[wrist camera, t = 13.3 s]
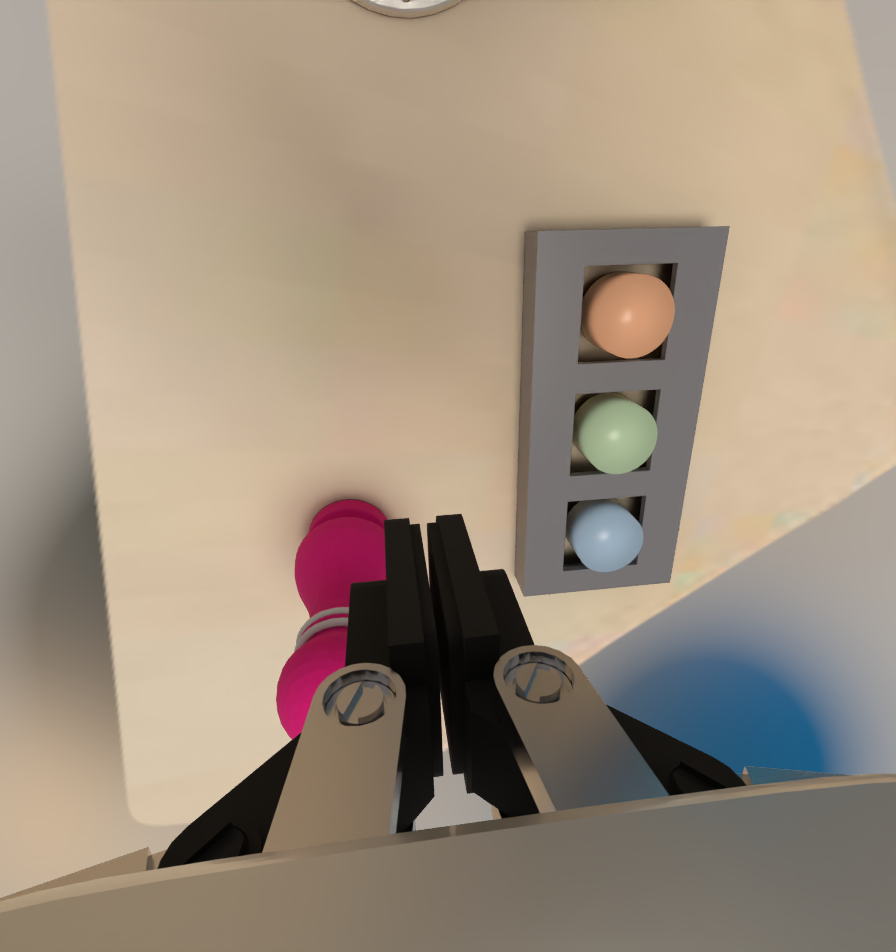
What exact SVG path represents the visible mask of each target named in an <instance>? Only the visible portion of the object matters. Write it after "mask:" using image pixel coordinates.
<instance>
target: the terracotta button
mask: <svg viewBox="0 0 896 952" xmlns="http://www.w3.org/2000/svg"><path fill="white" fill-rule="evenodd" d="M674 315H675V305H674V299H673V296H672V294H671V292H670V290H669V288H668V287H667V286H666V284H665V283H664V282H662V281H661V280H660V279H658V278H656V277H654V276H651V275H646V274H638V273H630V272H614V273H610V274H607V275H605V276H603V277H601V278H600V279H598V280H597V281H596V282H595V283H594V284H593V285H592V286H591V287H590V288H589V289H588V291H587V292H586V294H585V296H584V298H583V301H582V311H581V324H580V325H581V329H582V331H583V333H584V335H585V337H586V338H587V339H588V340H589V341H590V342H591V343H592V344H593V345H595V346H597V347H599V348H601V349H603V350H605V351H607V352H609V353H611V354H613V355H616V356H618V357H621V358H638V357H641V356H644V355H646V354H648V353H650V352H652V351H653V350H655V349H656V348H657V347H658V346H659V345H660V344H661V343H662V342H663V341H664V339H665V338H666V337H667V335H668V333H669V332H670V329H671V327H672V324H673V321H674Z"/></svg>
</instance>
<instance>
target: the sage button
mask: <svg viewBox="0 0 896 952" xmlns="http://www.w3.org/2000/svg"><path fill="white" fill-rule="evenodd" d="M657 434H658V432H657V425H656V422H655V420H654V418H653V416H652V415H651V414H650V413H649V412H648V411H647V410H646V409H644V408H643V407H641V406H639V405H638V404H636V403H635V402H633V401H631V400H630V399H628V398H627V397H625V396H623V395H621V394H617V393H602V394H598V395H596V396H594V397H592V398H590V399H589V400H587V401H586V402H585V403H584V404H583V405H582V406H581V407H580V408H579V409H578V411H577V412H576V414H575V416H574V422H573V436H572V439H573V442H574V444H575V446H576V447H577V449H578V450H579V451H580V452H581V453H582V454H583V455H584V456H585V457H586V458H587V459H588V460H589V461H590V462H591V463H592V464H593V465H594V466H595V467H596V468H597V469H599V470H600V471H602V472H605V473H608V474H623V473H627V472H630V471H632V470H634V469H636V468H637V467H639V466H640V465H642V464H643V463H644V462H645V461H646V460H647V459H648V458H649V456H650V455H651V453H652V452H653V450H654V448H655V445H656V441H657Z"/></svg>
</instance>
